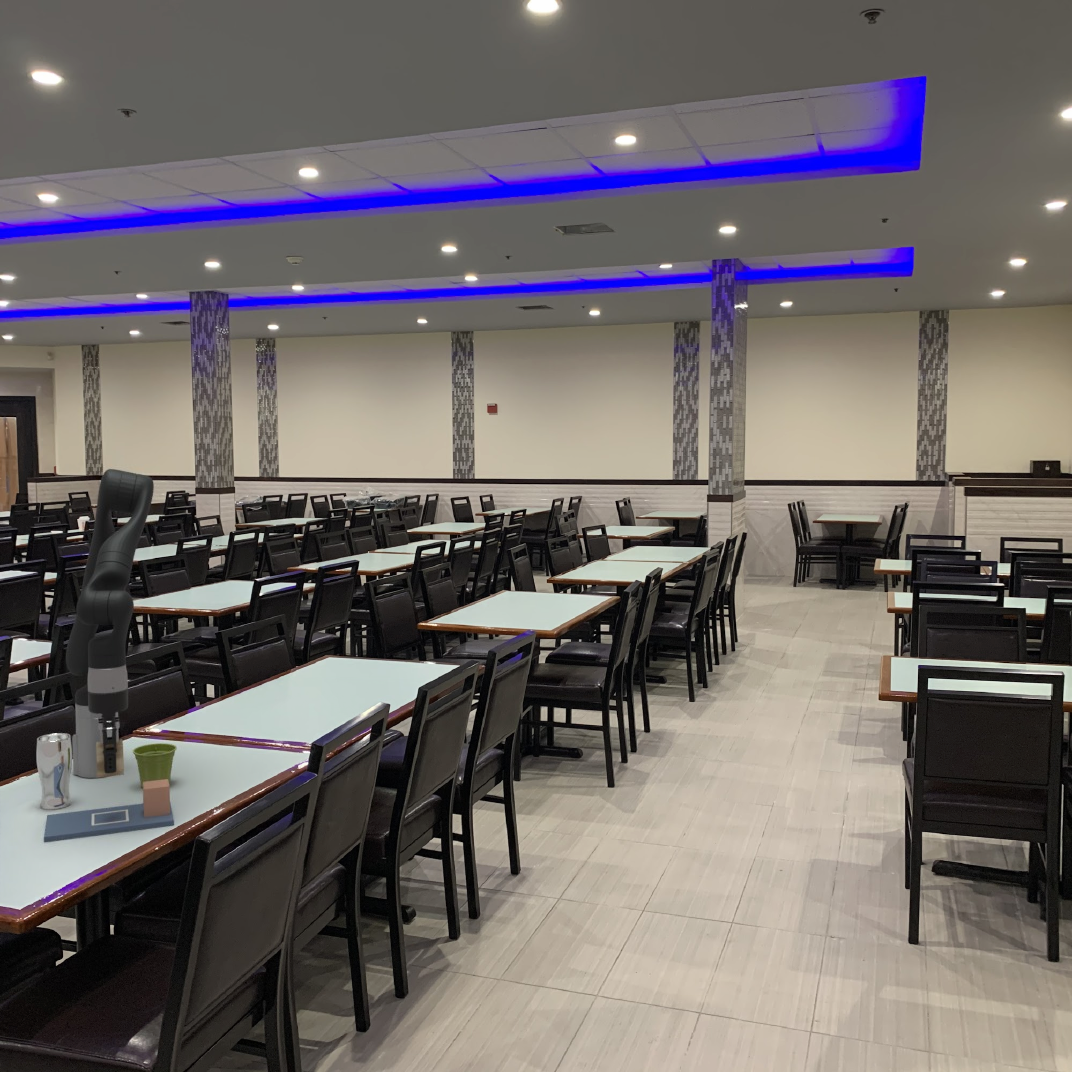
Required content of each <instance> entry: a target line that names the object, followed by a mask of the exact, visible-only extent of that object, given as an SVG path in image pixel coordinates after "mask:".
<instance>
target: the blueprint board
mask: <svg viewBox="0 0 1072 1072" xmlns="http://www.w3.org/2000/svg"><path fill="white" fill-rule="evenodd" d="M171 804H172V803H171V802H170V814H168V815H160V816H152V817H144V810H143V802H142V803H137V804H136V803H135V804H128V805H127V804H126V805H118V806H112V807H111V806H110V807H103V808H95V809H93V808H92V809H85V810H79V811H78V810H76V811H70V812H69V811H68V812H60V813H53V814H52V813H51V814H47V815H46V821H45V826H44V827H45V828H44V834H43V835H44V836H43V842H44V843H50V842H56V841H64V840H70V839H77V838H79V839H80V838H86V837H87V838H88V837H94V836H100V835H108V834H109V835H110V834H117V833H123V832H131V831H139V830H141V831H142V830H147V829H148V830H149V829H156V828H162V827H170V826H174V825H175V819H174V815H173V809H172V805H171Z"/></svg>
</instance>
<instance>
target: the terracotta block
mask: <svg viewBox="0 0 1072 1072" xmlns="http://www.w3.org/2000/svg"><path fill="white" fill-rule="evenodd" d="M170 790H171V789H170V784H169V781H168V779H164V780H155V781H146V782H143V787H142V798H143V799H142V800H143V802H142V803H143V810H144V817H152V816H160V815H168V814H170V803H171V799H170V798H171V797H170V794H171V793H170V792H171V791H170Z"/></svg>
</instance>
